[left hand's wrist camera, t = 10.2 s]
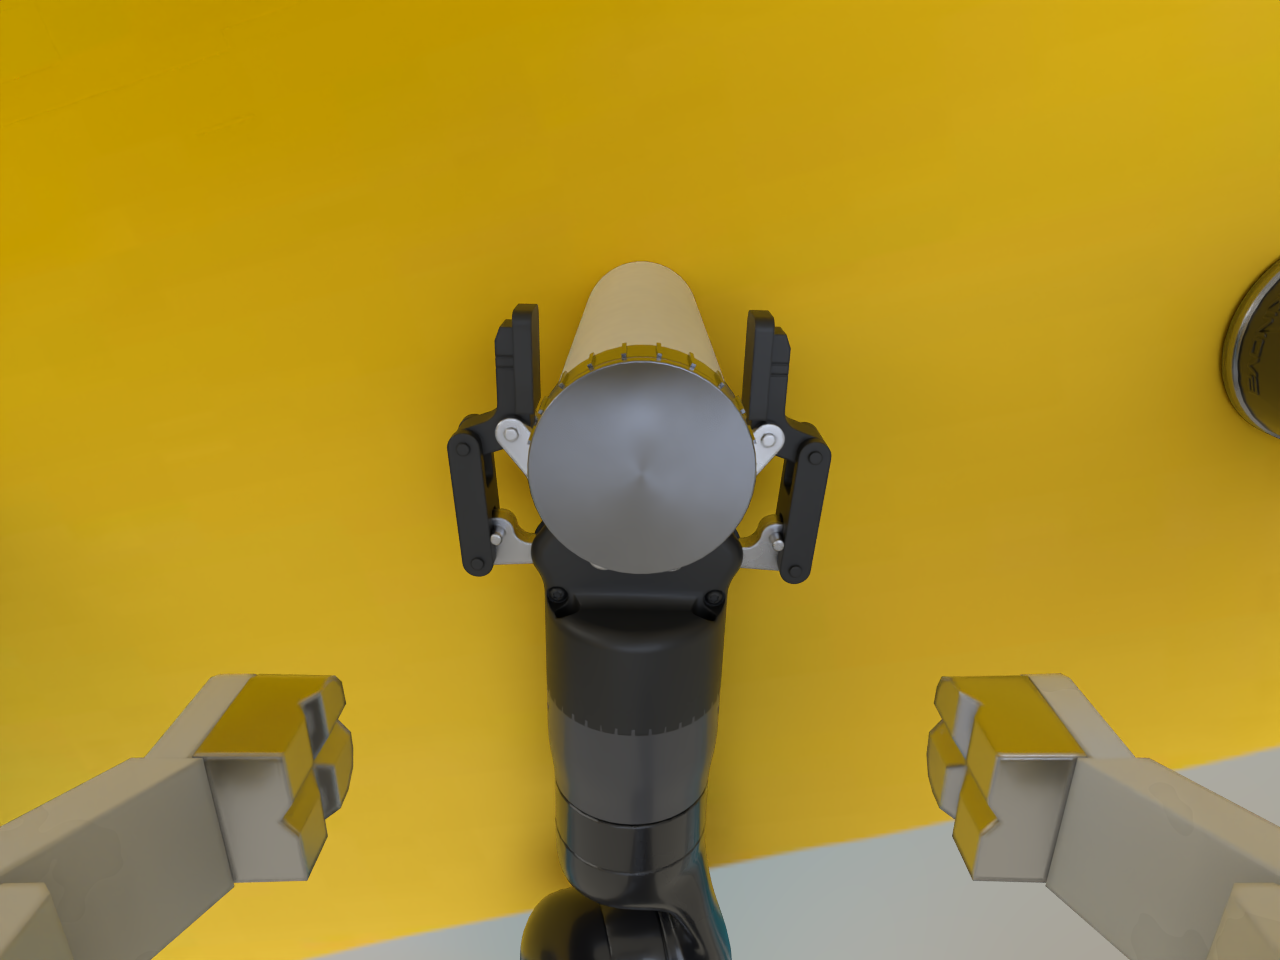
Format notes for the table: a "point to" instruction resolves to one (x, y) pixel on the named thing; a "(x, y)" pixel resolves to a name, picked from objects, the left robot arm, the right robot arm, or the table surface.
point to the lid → (641, 460)
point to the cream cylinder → (641, 315)
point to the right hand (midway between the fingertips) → (642, 310)
